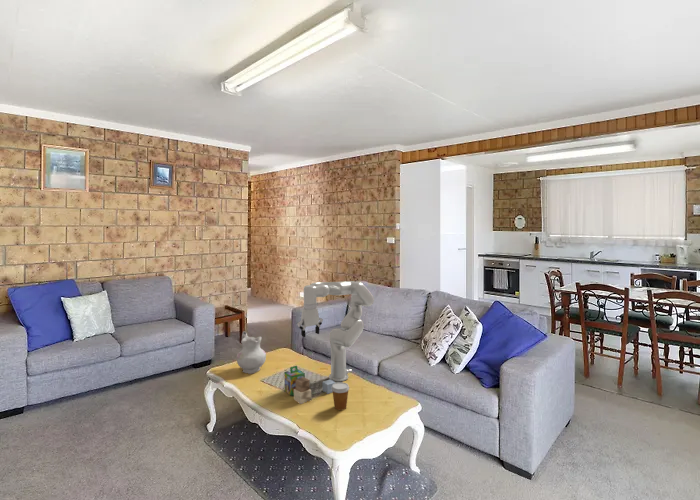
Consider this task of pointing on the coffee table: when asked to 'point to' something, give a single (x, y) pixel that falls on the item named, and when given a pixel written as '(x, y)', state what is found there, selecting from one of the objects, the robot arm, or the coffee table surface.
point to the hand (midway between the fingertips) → (310, 335)
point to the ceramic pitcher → (251, 354)
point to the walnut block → (302, 384)
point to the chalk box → (292, 379)
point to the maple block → (302, 396)
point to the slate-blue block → (327, 386)
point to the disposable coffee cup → (340, 395)
